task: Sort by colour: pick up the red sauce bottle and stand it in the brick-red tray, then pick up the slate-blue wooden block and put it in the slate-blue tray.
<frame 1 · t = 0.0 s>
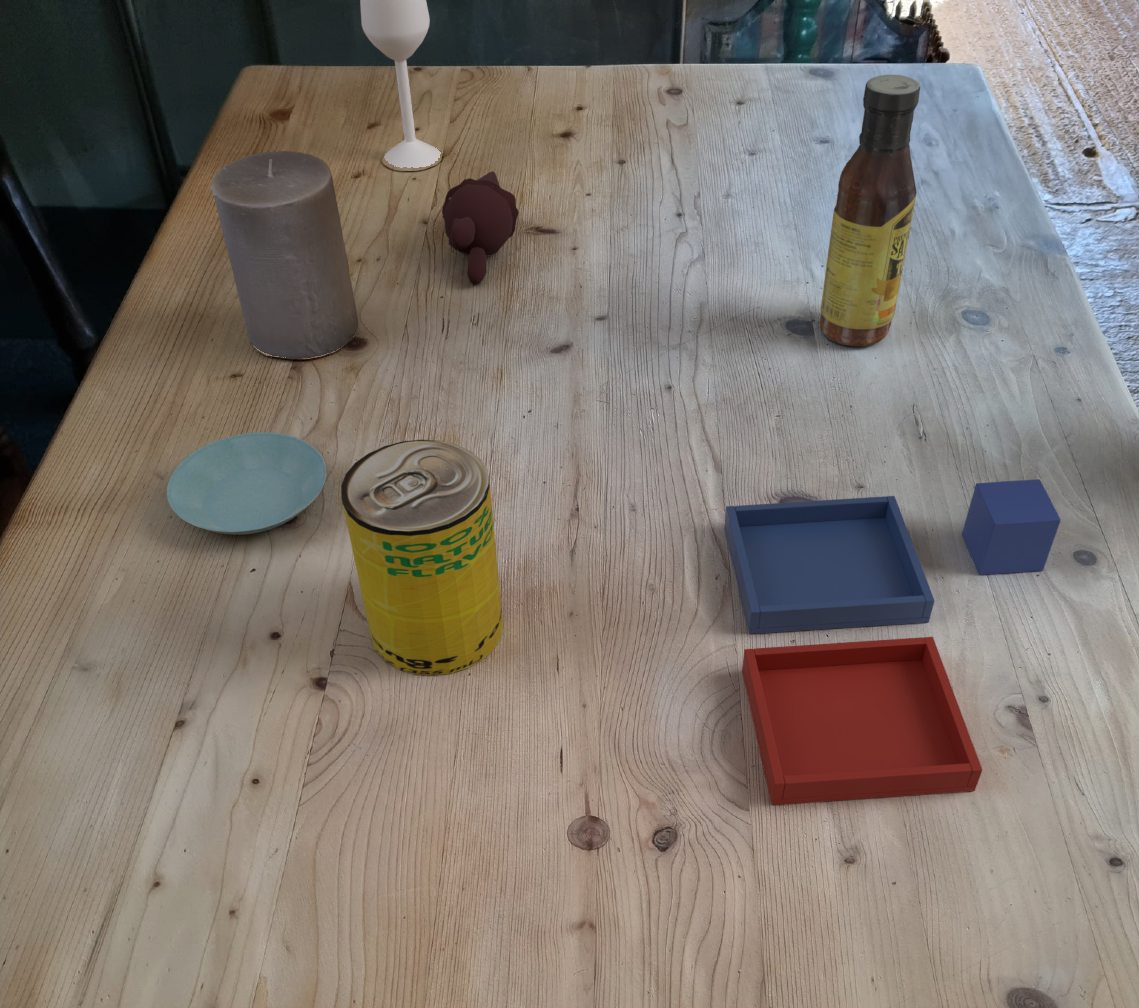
sauce bottle: (853, 332, 105), on the table
red tray: (852, 728, 76), on the table
saucer: (254, 505, 92), on the table
blue tray: (822, 573, 85), on the table
blue block: (1001, 552, 86), on the table
beverage can: (437, 630, 83), on the table
pillar candle: (304, 335, 108), on the table
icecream: (481, 252, 116), on the table
champagne flute: (412, 159, 130), on the table
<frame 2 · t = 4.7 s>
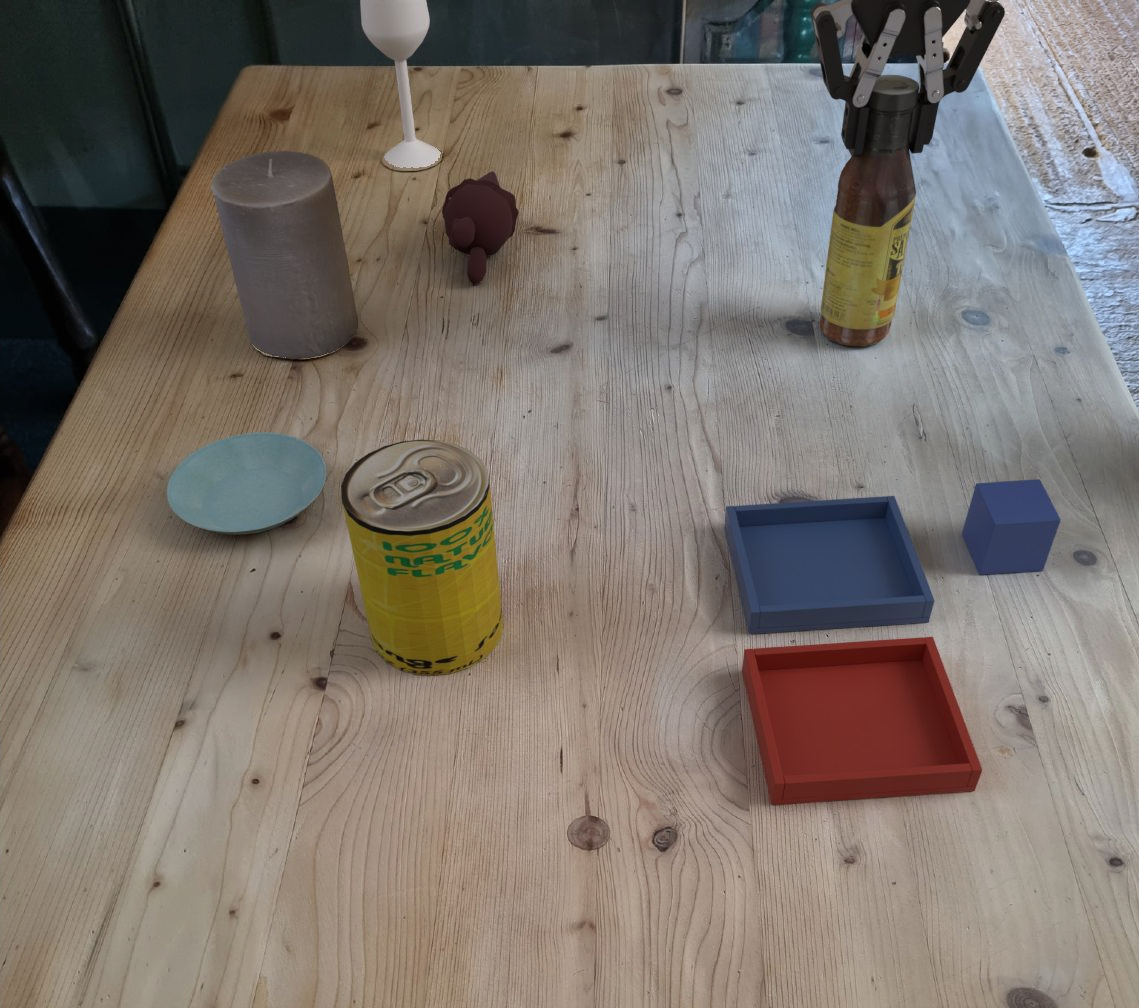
hand: (884, 149, 94), 15 cm above the table, tool pointing down, fingers closed on sauce bottle, 4 cm apart
sauce bottle: (853, 332, 105), on the table, touching gripper
everything else where it was.
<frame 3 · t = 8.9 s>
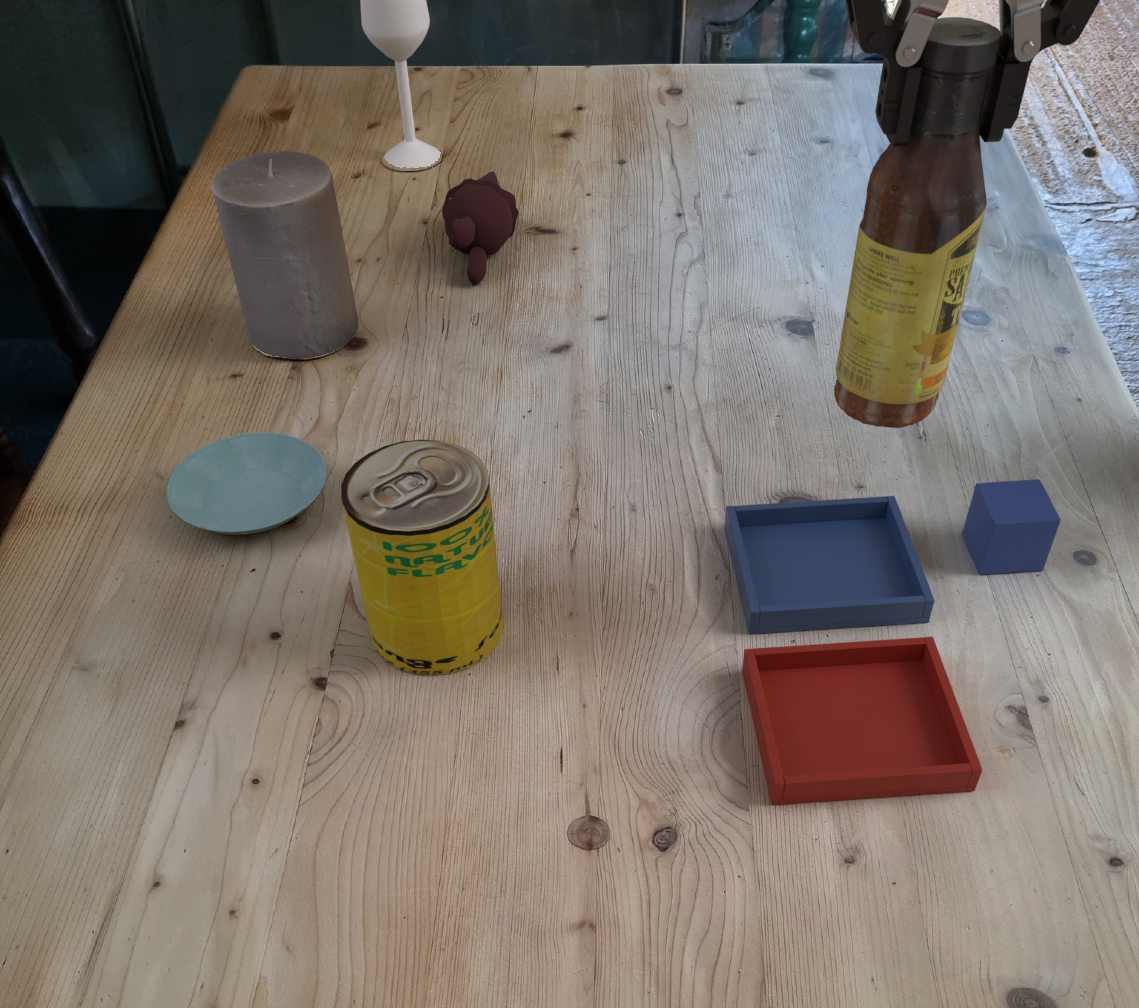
hand: (942, 135, 60), 30 cm above the table, tool pointing down, fingers closed on sauce bottle, 4 cm apart
sauce bottle: (882, 404, 72), point 15 cm above the table, touching gripper
everything else where it was.
when the fingers open (16 cm above the table, at t = 13.4 s): sauce bottle stays where it is, resting on red tray.
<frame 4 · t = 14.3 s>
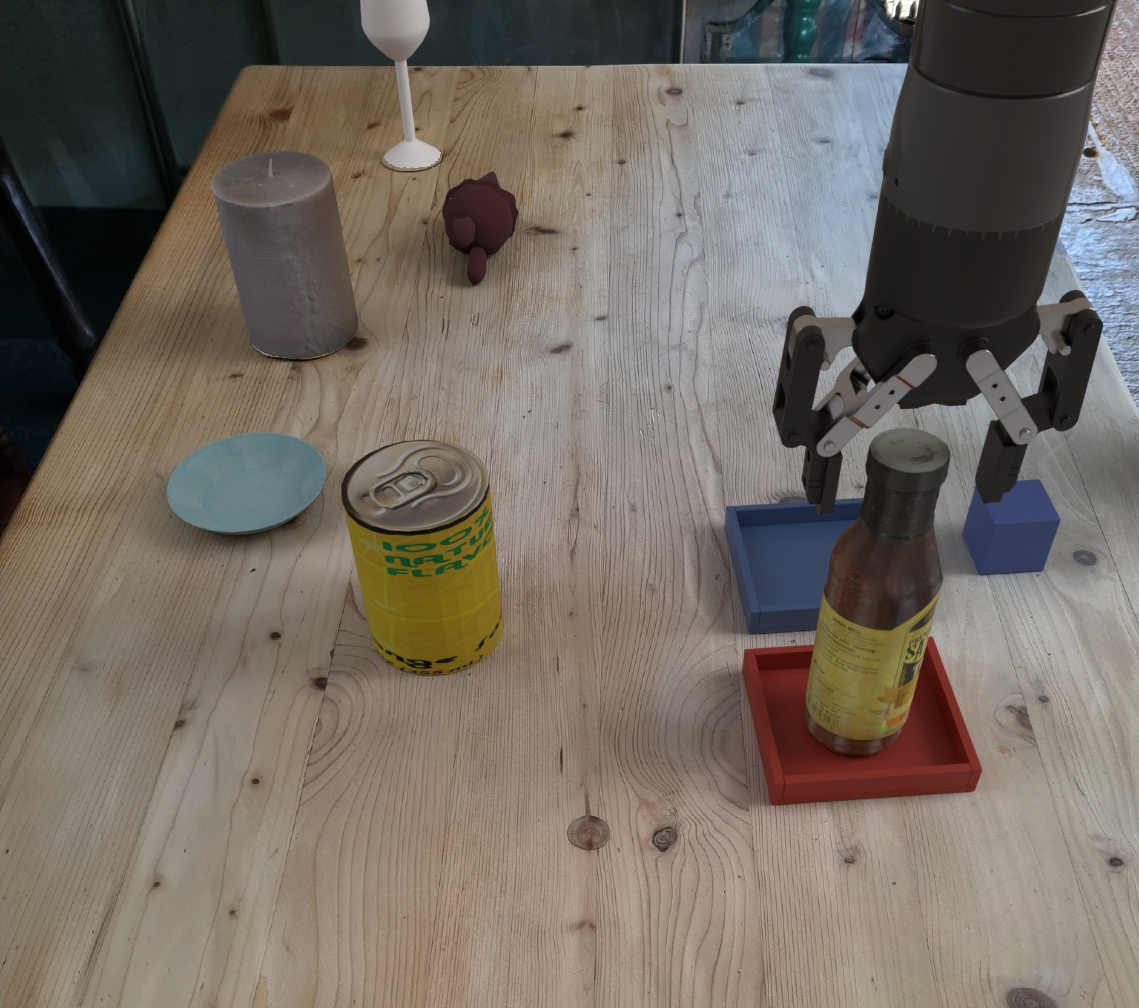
hand: (904, 499, 62), 18 cm above the table, tool pointing down, fingers open, 8 cm apart
sauce bottle: (851, 724, 76), resting on red tray
everything else where it was.
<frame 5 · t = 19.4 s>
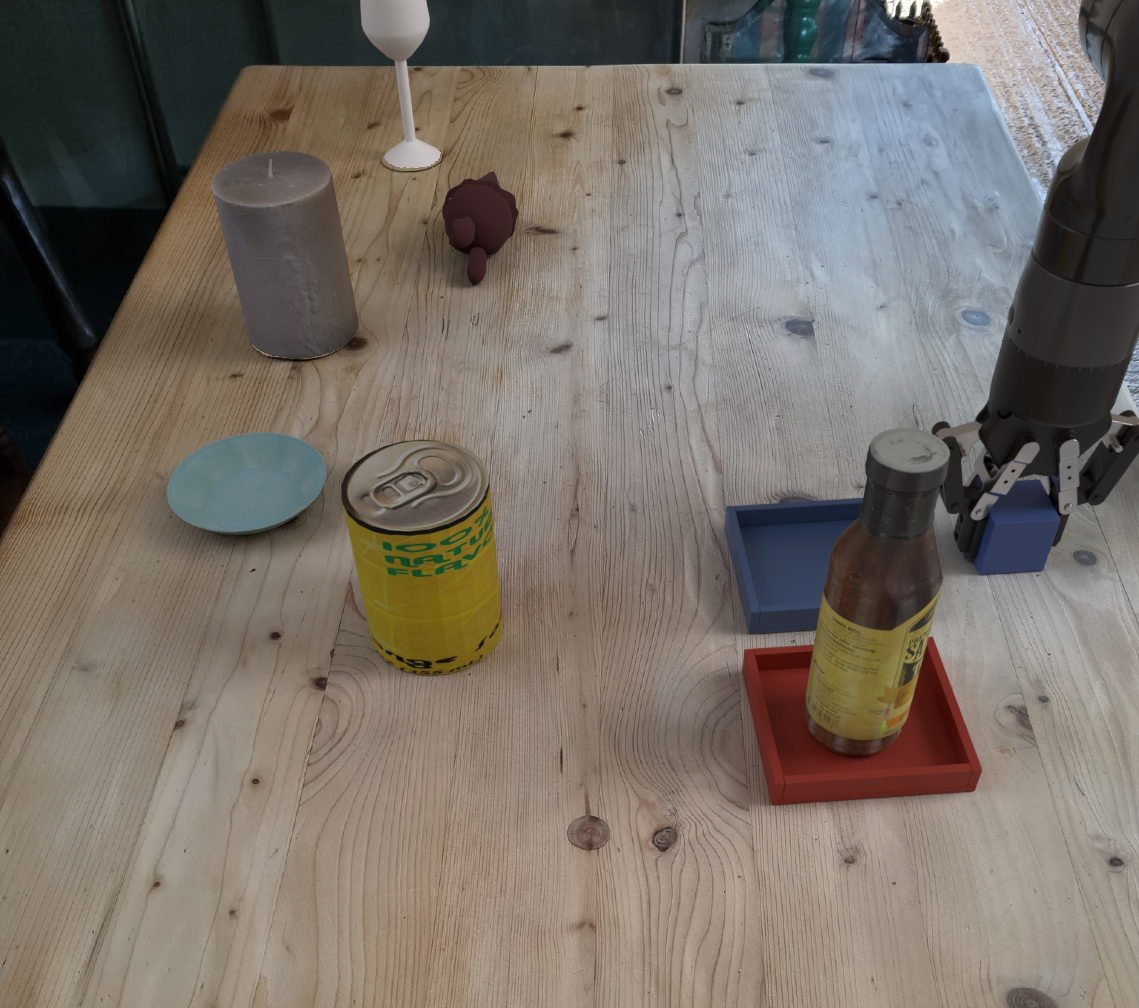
hand: (1003, 548, 86), 0 cm above the table, tool pointing down, fingers closed on blue block, 4 cm apart
blue block: (1001, 552, 86), on the table, touching gripper
everything else where it was.
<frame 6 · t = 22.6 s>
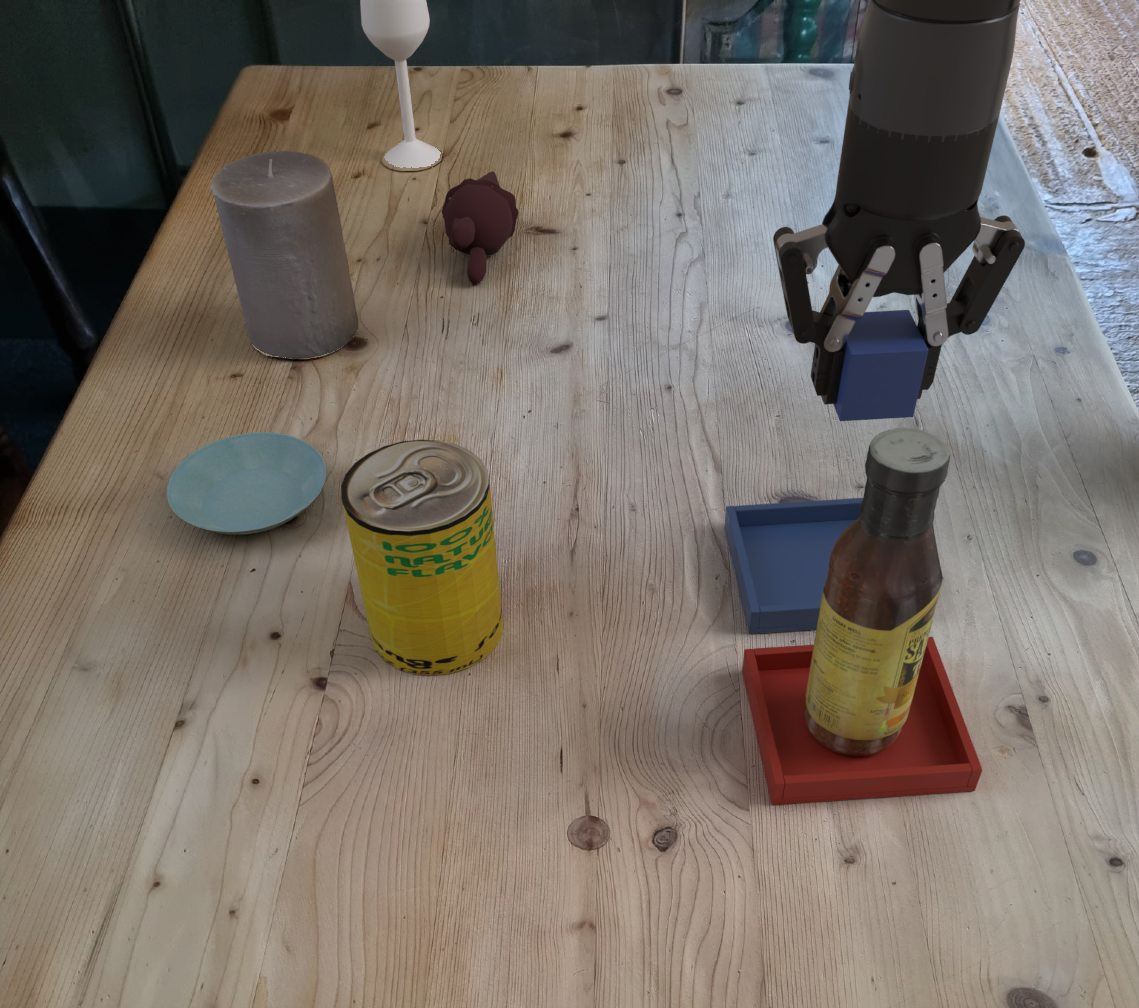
hand: (869, 393, 74), 14 cm above the table, tool pointing down, fingers closed on blue block, 4 cm apart
blue block: (868, 398, 74), point 14 cm above the table, touching gripper
everything else where it was.
when the fingers open (1 cm above the table, at t = 26.0 s): blue block stays where it is, resting on blue tray.
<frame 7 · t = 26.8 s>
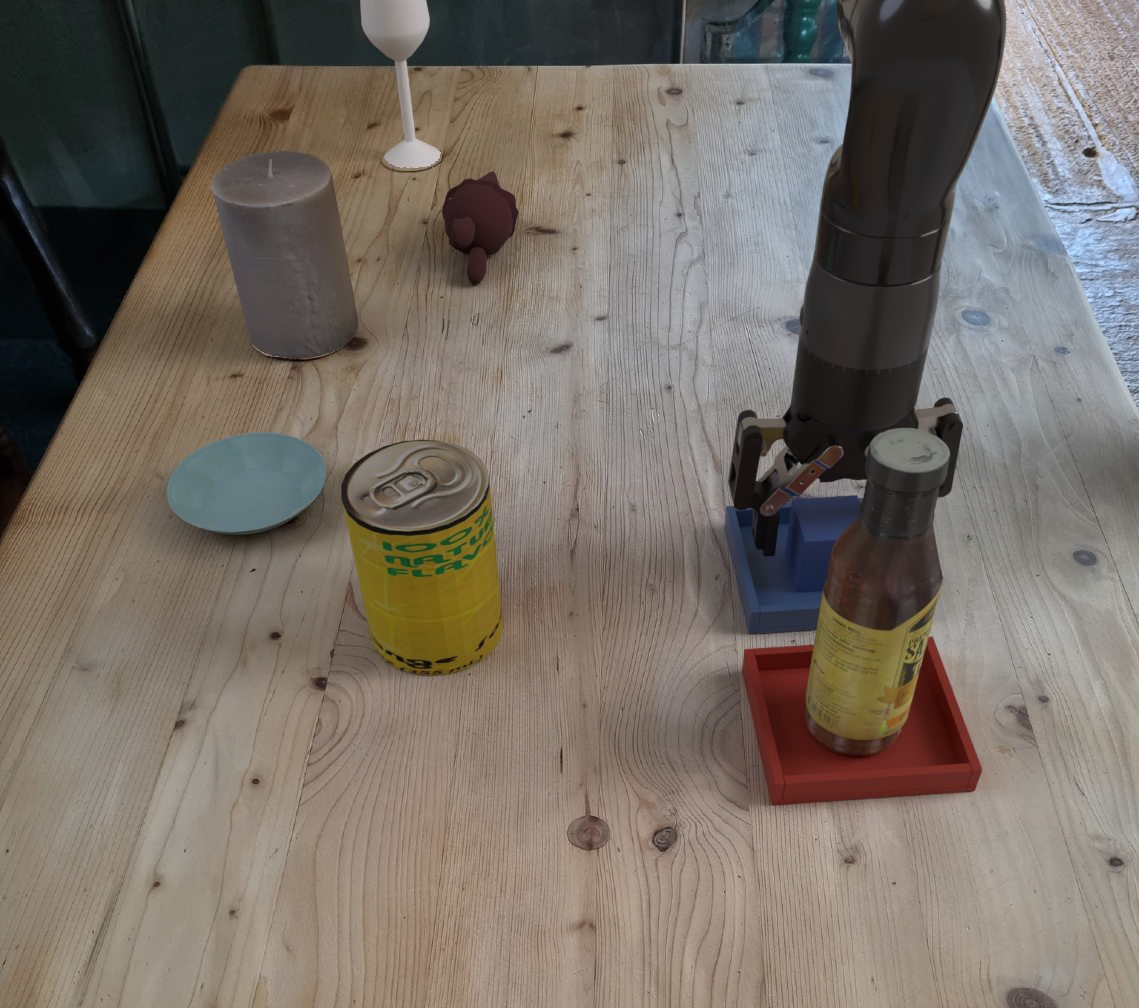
hand: (828, 544, 83), 2 cm above the table, tool pointing down, fingers open, 8 cm apart
blue block: (822, 568, 85), resting on blue tray
everything else where it was.
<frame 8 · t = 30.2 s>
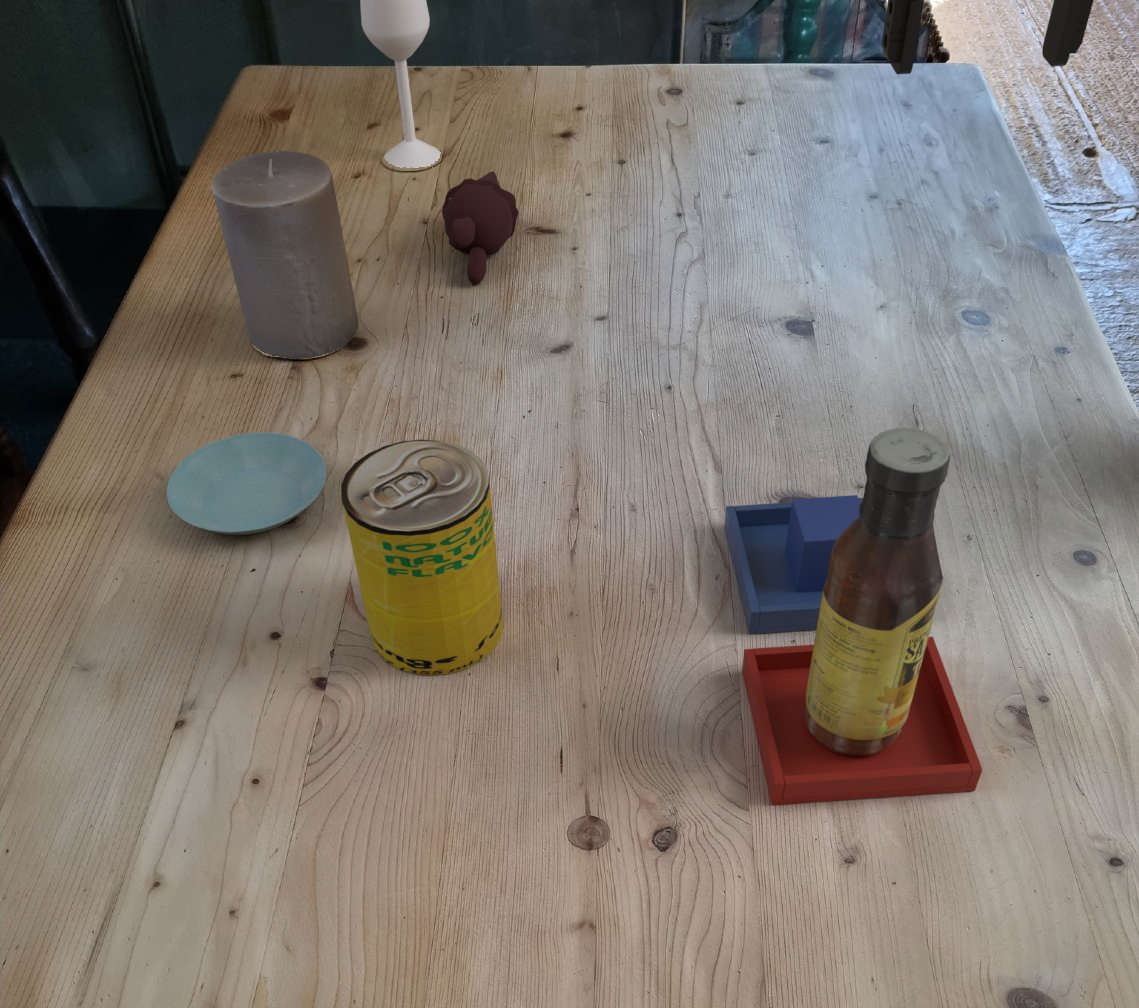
hand: (977, 65, 67), 30 cm above the table, tool pointing down, fingers open, 8 cm apart
nothing on the table moved.
at the end: sauce bottle inside the target area in the red tray (0.1 cm from its centre), point 0.3 cm above the red tray's base; sauce bottle tilted 0°; blue block inside the target area in the blue tray (0.1 cm from its centre), point 0.5 cm above the blue tray's base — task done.
